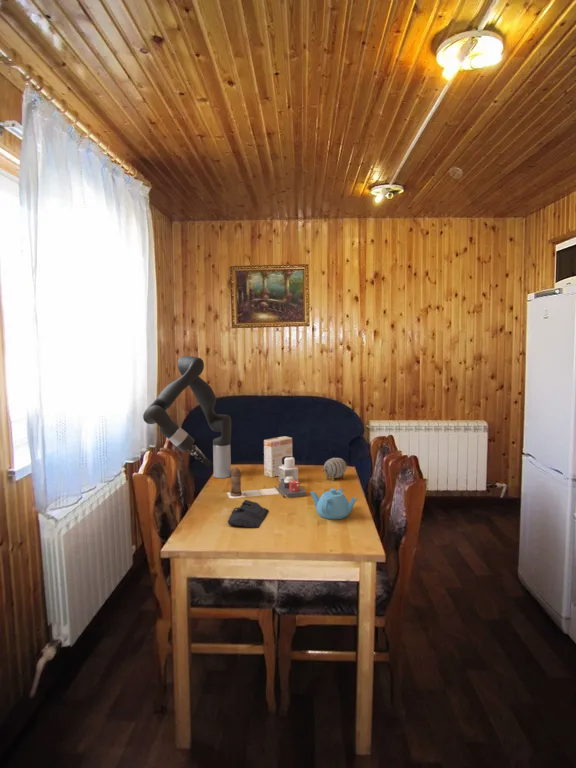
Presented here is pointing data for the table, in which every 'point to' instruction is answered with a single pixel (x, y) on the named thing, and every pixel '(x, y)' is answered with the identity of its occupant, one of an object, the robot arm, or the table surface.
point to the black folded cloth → (248, 515)
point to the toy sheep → (334, 468)
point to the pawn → (235, 482)
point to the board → (258, 493)
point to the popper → (292, 488)
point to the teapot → (333, 504)
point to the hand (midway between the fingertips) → (209, 464)
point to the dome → (289, 479)
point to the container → (288, 468)
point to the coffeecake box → (276, 454)
